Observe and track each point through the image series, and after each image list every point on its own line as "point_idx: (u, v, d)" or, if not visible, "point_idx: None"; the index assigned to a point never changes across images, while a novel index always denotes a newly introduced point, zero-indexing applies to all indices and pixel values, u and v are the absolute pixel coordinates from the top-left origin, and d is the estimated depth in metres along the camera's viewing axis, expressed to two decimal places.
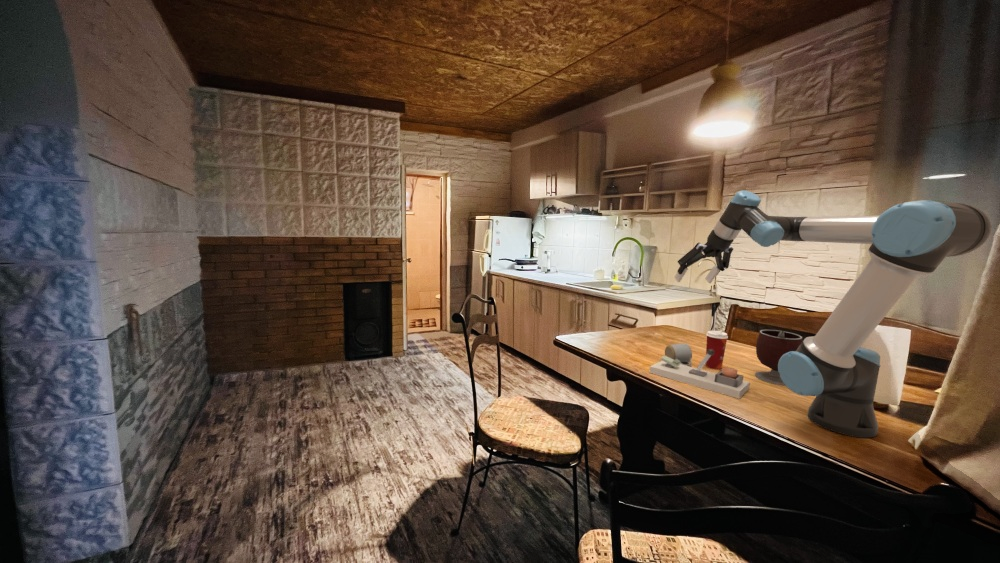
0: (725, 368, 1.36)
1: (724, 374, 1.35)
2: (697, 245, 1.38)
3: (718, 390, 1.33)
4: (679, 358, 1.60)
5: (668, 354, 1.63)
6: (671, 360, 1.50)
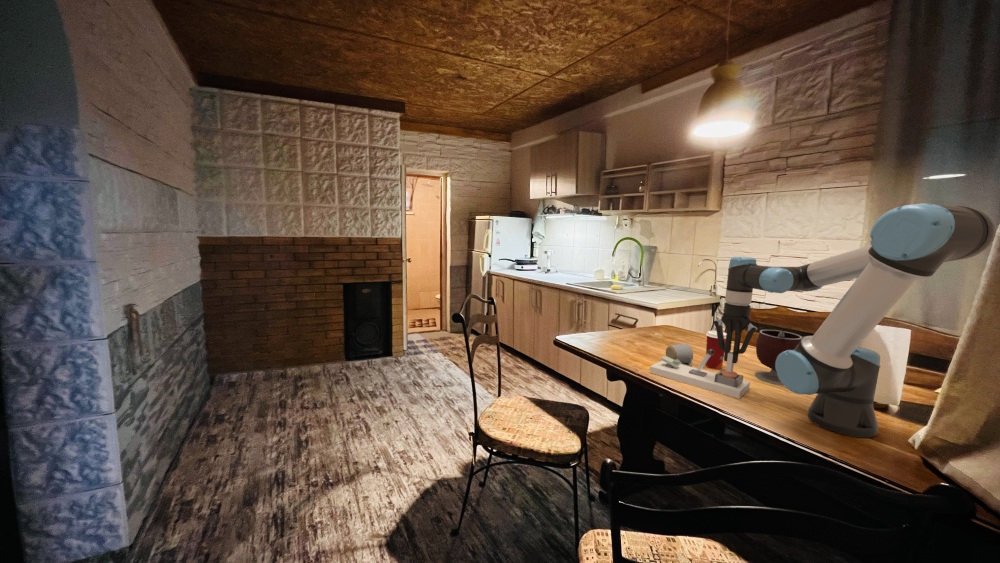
0: (725, 371, 1.37)
1: None
2: None
3: (718, 390, 1.33)
4: (680, 359, 1.59)
5: (669, 355, 1.62)
6: (671, 360, 1.50)
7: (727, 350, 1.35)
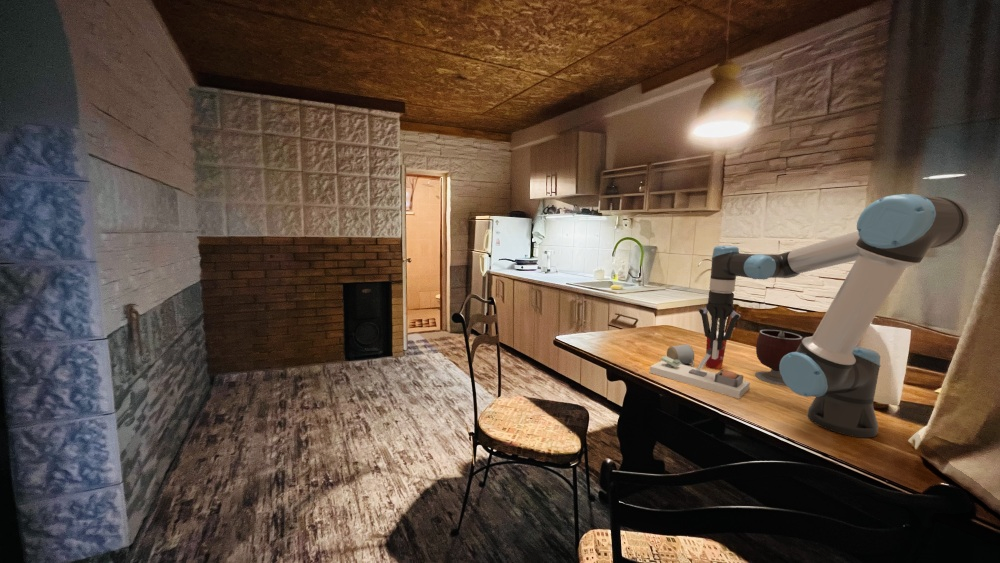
0: (725, 372, 1.37)
1: None
2: None
3: (718, 390, 1.33)
4: (681, 359, 1.58)
5: (670, 355, 1.61)
6: (671, 360, 1.50)
7: (712, 337, 1.38)
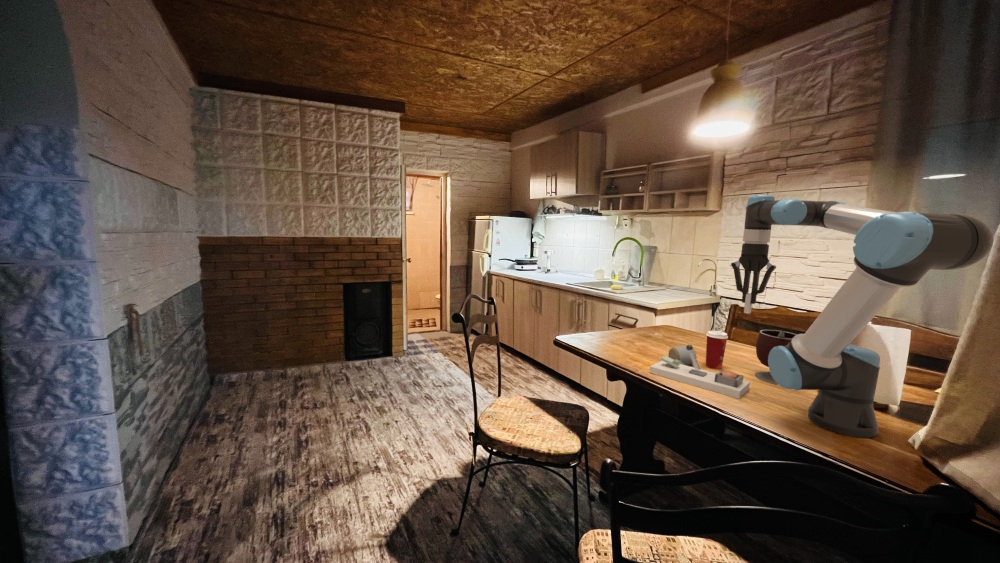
0: (725, 372, 1.37)
1: None
2: None
3: (718, 390, 1.33)
4: (683, 360, 1.57)
5: (672, 356, 1.60)
6: (671, 360, 1.50)
7: (745, 291, 1.34)
